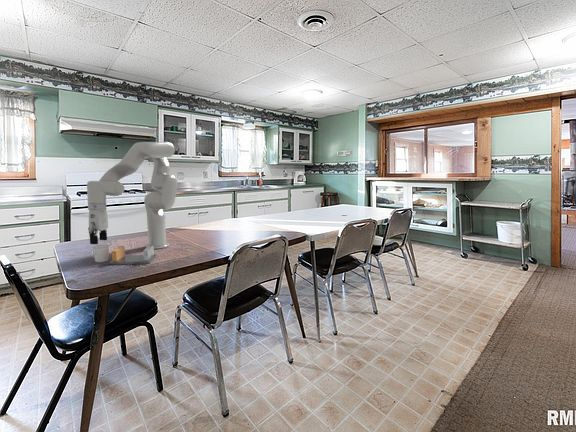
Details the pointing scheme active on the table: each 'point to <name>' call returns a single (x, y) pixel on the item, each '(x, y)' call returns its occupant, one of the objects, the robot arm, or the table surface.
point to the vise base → (137, 258)
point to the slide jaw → (118, 253)
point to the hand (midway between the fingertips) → (98, 242)
